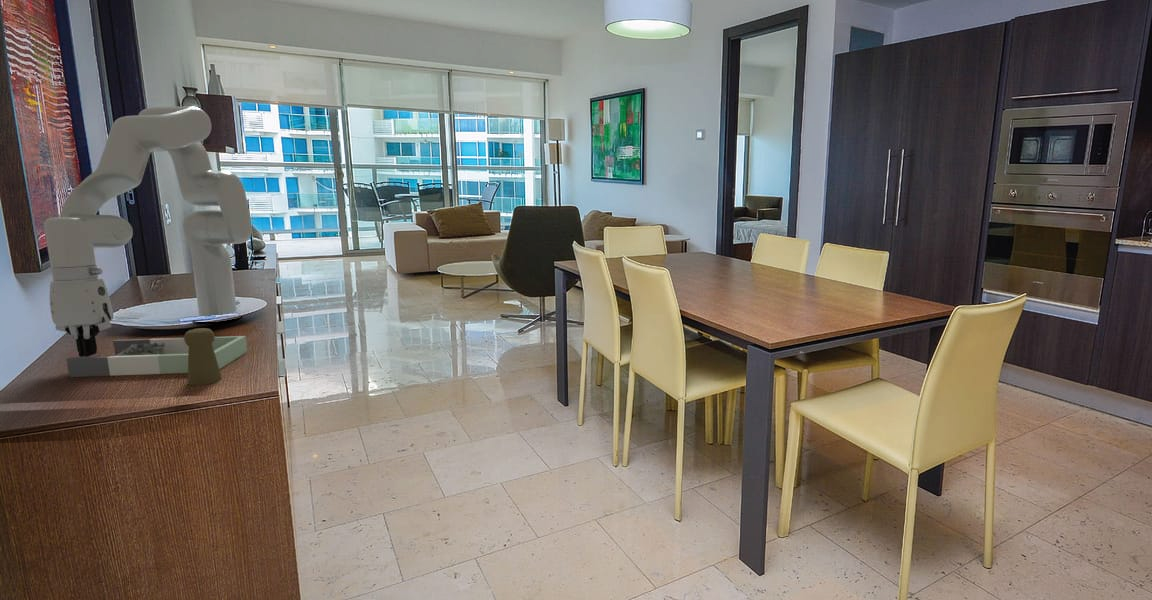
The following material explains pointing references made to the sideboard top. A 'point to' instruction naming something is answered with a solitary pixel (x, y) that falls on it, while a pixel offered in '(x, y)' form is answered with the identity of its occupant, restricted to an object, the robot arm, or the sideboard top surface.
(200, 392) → the sideboard top surface
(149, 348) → the egg carton
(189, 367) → the cork
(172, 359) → the frame
